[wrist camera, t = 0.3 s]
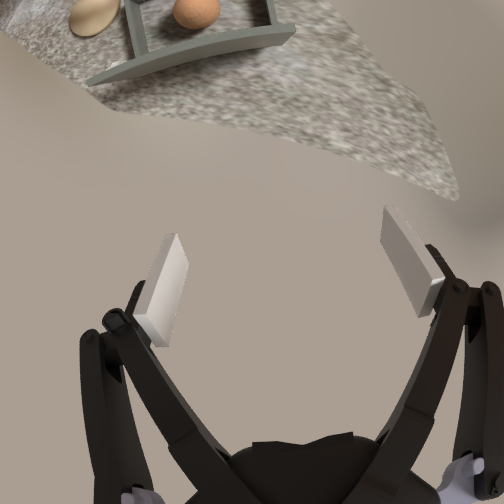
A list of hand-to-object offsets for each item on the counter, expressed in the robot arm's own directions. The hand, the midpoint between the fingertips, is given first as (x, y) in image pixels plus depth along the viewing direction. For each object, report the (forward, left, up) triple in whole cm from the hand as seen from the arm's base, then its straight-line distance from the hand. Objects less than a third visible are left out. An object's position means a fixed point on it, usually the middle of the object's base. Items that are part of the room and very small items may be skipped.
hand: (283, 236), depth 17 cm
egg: (-20, -6, -27) cm, 34 cm away
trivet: (-28, -22, -27) cm, 45 cm away
